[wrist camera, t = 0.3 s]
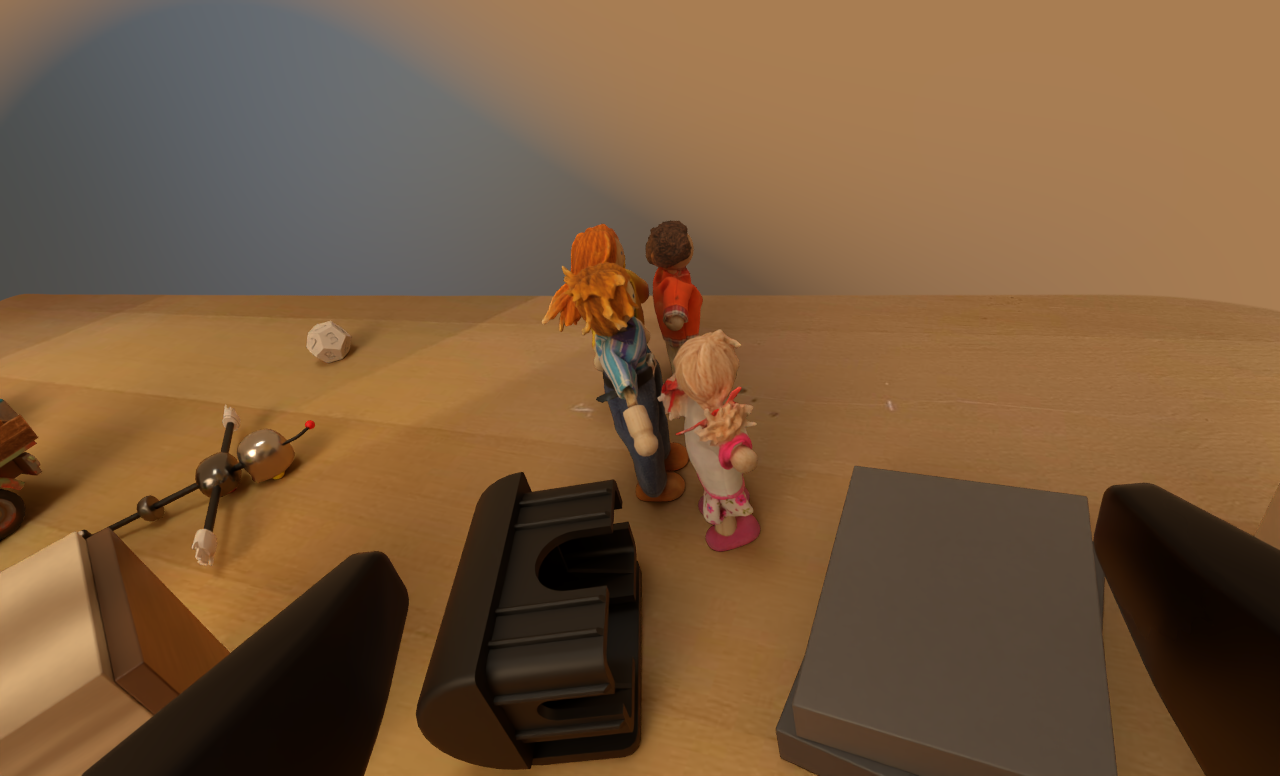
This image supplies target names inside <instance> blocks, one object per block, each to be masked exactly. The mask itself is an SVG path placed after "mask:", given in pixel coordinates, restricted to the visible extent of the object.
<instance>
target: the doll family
mask: <svg viewBox="0 0 1280 776" xmlns="http://www.w3.org/2000/svg"><path fill="white" fill-rule="evenodd" d="M692 256H693V243H692V240H691V238H690V236H689V235H688V234H687V227H686V226H685V225H683V224H682V223H681V222H680V221H667V222H663V223H662V224H659V226H658V227H656V228H652V229H651V235H650V236H649V237H648V242H647V243H646V258H647V260H648V262H649V263H650V264H653V265H656V266H657V267H659V268H658V269H657V271H656V274H655V276H654V280H653V299H654V307H655V312H656V315H657V319H658V323H659V327H660V329H661V332H662V336H663V339H664V340H665V342H666V347H667V351H668V355H669V359H670V363H671V368H672V374H673V375H672V376H671V378H668V379H667V380H666V382H665V384H663V381H662V375H661V370H660V367H659V363H658V362H657V360H656V359H655V358H654V355H653V354H652V353H651V351H650V349H649V348H648V346H647V343H648V342H649V340H650V333H649V332H648V331H647V330H646V328H645V327H644V316H643V310H642V307H641V303H644V302H645V301H646V300H647V299H648V297H649V289H648V284H647V283H646V281H644V280H643V279H641V278H639V277H638V276H637V275H636V274H635V273H633V272H632V271H630V270H627V269H625V255H624V251H623V248H622V245H621V244H620V242H619V239H618V237H617V235H616V234H615V232H614V231H613V230H612V229H610V228H608V227H607V226H606V225H605V224H601V225H598V226H595V227H593V228H588V229H587V230H586V231H585V233H579V234H578V235H577V236H576V238H575V241H574V242H573V245H572V250H571V271H569V270H568V269H566V268H565V267H564V266H562V270H563V272H564V274H565V275H566V276H565V277H564V278H565V280H564V282H566V283H565V284H564V285H563V286H562V287H561V288H560V289H559V290H558V291H557V292H556V294H555V295H554V296H553V299H552V302H551V304H550V306H549V309H548V312H547V314H546V316H545V317H544V318H543V320H542V323H543V324H546V323H547V322H548V321H549V320H550V319H554V318H555V317H556V315H557V314H558V313H559V312H560V313H561V315H560V323H559V328H560V332H562V331H563V328H564V325H566V326H568V325H572V324H573V322H574V324H575V325H576V324H577V321H579V320H580V318H581V316H582V318H583V319H584V320H585V321H586V327H585V328H583V329H582V332H583V333H582V334H583V336H584V335H585V334H586V333H589V332H590V329H591V330H592V334H593V340H592V347H593V349H594V351H595V353H596V356H595V358H594V366H595V367H596V369H597V370H598V371H602V372H603V379H604V390H605V394H604V395H601V396H599V397H597V399H596V400H597V401H599V402H602V403H603V402H604V401H608V404H609V407H610V410H611V413H612V416H613V420H614V425H615V429H616V431H617V433H618V435H619V436H620V438H621V439H622V441H623V442H624V443H625V445H626V446H627V448H628V450H629V452H630V454H631V457H632V459H633V462H634V467H635V472H636V475H637V479H638V484H637V486H636V496H637V497H638V498H639V499H640V500H642V501H671V500H674V499H676V498H678V497H680V496H681V495H682V493H683V492H684V490H685V483H684V480H683V479H682V477H681V476H680V475H679V474H677V473H674V472H667V471H674V470H678V469H680V468H682V467H684V466H685V465H686V464H687V462H688V459H690V461H691V463H692V465H693V467H694V468H695V470H696V472H697V475H698V478H699V480H700V482H701V484H702V486H703V488H704V495H703V496H702V497H701V499H700V500H699V503H698V508H699V510H700V512H701V513H702V514H703V515H704V518H705V519H706V521H707V522H709V523H711V524H714V525H713V526H711V527H710V528H709V530H708V531H707V533H706V542H707V544H708V545H709V547H710V548H712V549H713V550H715V551H727V550H730V549H734V548H737V547H739V546H742V545H745V544H748V543H750V542H751V541H753V540H755V539H756V538H757V537H758V536H759V533H760V525H759V523H758V521H757V520H756V518H755V517H754V516H753V515H751V514H752V513H753V508H752V506H751V505H750V504H749V502H748V501H749V497H750V495H749V492H748V490H747V489H746V487H745V482H744V478H743V473H749V472H751V471H753V470H754V469H755V468H756V465H757V461H758V460H757V455H756V454H755V452H754V451H753V450H752V443H751V440H750V438H749V437H748V434H747V431H746V427H751V426H755V425H757V424H756V423H755V422H748V421H747V419H746V416H748V414H751V410H752V408H753V406H751V405H746V404H742V405H740V404H739V403H738V402H737V403H736V402H734V401H733V399H734V398H735V397H736V396H737V394H738V393H739V392H740V390H741V387H737V388H736V389H734V390H733V391H732V392H731V394H730V391H731V389H732V388H733V384H734V382H735V379H736V375H737V369H738V368H739V360H738V358H737V356H736V354H735V351H734V348H738V347H740V346H741V344H740V343H738V342H737V341H736V340H735V339H731V338H729V337H728V336H726V335H725V334H724V333H723V331H722V330H717V331H716V332H714V333H711V332H708V333H706V334H704V335H703V336H699V325H700V308H701V305H702V302H703V299H702V296H701V294H700V292H699V291H698V290H697V288H696V287H695V286H694V285H692V284H691V278H690V273H689V271H688V270H687V268H686V265H687V264H688V263H689V262H690V260H691V258H692ZM729 394H730V396H729ZM728 396H729V397H728ZM665 413H666V414H669V420H670V421H671V420H673V419H674V418H677V419H679V418H680V416H683V417H685V423H684V431H682V432H679V433H676V434H675V435H681V434H684V435H685V444H686V448H687V450H686V448H685V447H684V446H683V445H681V444H679V443H674V442H673V443H670V441H669V430H668V422H667V418H666V415H665Z"/></svg>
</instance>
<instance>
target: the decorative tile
mask: <svg viewBox="0 0 1280 776" xmlns="http://www.w3.org/2000/svg"><path fill="white" fill-rule="evenodd" d="M16 416H18V415H17V413H16V412H15V411H14V410H13V409H12V408H11V407H10V406H9V405H8V404H7V403H6V402H5V401H4V400H3V399H0V419H1V420H11V419H13V418H14V417H16Z"/></svg>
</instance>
